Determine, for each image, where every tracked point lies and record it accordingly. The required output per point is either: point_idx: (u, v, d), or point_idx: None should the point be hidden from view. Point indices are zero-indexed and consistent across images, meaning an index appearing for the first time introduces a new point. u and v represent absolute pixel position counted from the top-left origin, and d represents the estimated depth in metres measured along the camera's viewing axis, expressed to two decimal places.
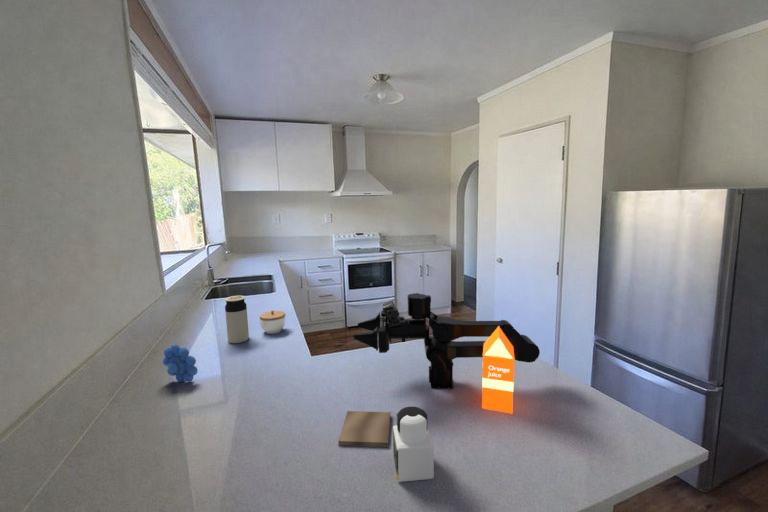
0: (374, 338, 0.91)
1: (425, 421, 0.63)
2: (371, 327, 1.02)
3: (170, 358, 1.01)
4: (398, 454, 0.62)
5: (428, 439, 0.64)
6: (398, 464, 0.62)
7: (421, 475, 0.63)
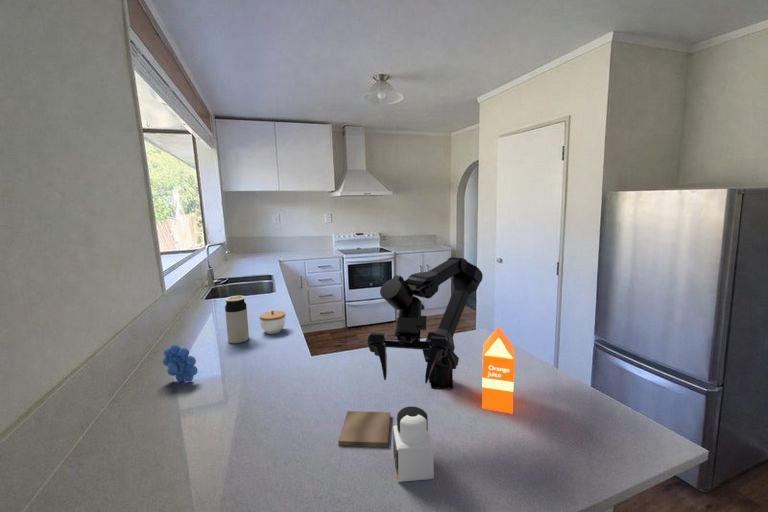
0: None
1: (425, 421, 0.63)
2: (386, 363, 0.77)
3: (170, 358, 1.01)
4: (398, 454, 0.62)
5: (429, 439, 0.64)
6: (398, 464, 0.62)
7: (421, 475, 0.63)
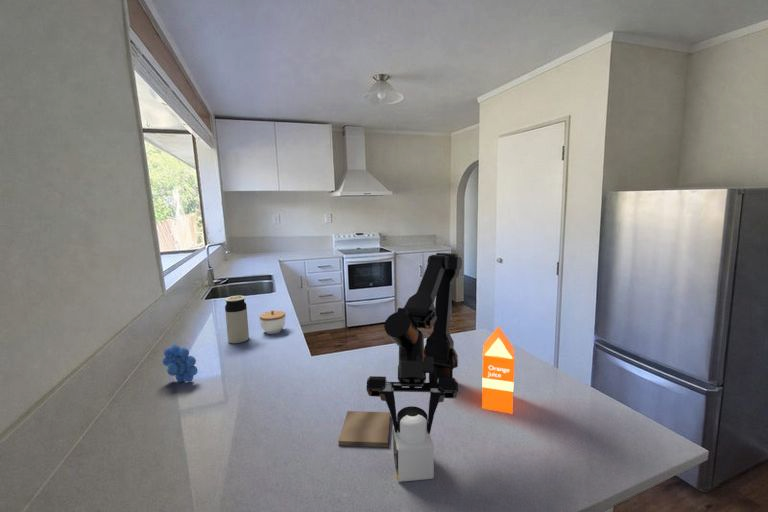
0: None
1: (425, 421, 0.63)
2: None
3: (170, 358, 1.01)
4: (398, 454, 0.62)
5: (429, 439, 0.64)
6: (398, 464, 0.62)
7: (421, 475, 0.63)
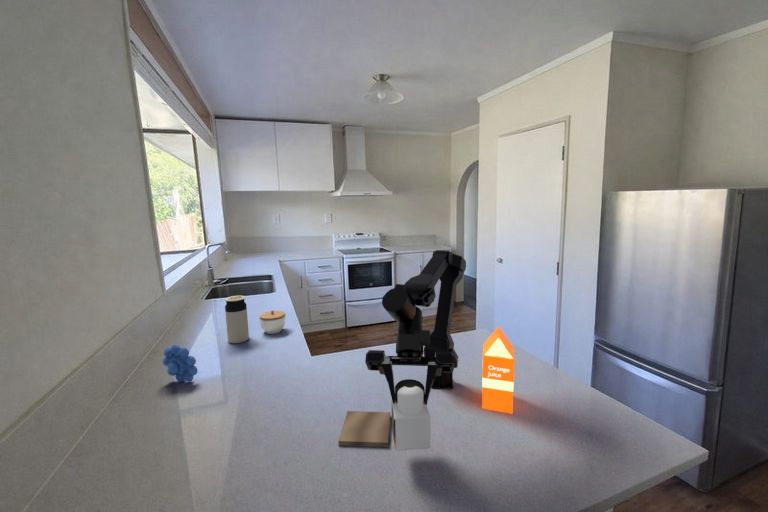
0: None
1: (422, 392, 0.65)
2: None
3: (170, 358, 1.01)
4: (395, 423, 0.64)
5: (425, 410, 0.66)
6: (395, 433, 0.64)
7: (418, 444, 0.65)
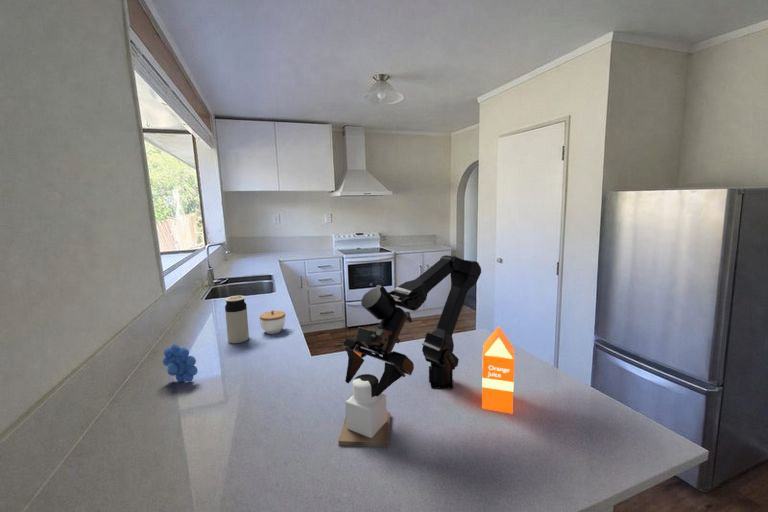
0: (391, 372, 0.75)
1: (369, 387, 0.74)
2: (356, 368, 0.81)
3: (170, 358, 1.01)
4: (346, 405, 0.76)
5: (373, 404, 0.74)
6: (346, 414, 0.76)
7: (362, 431, 0.74)
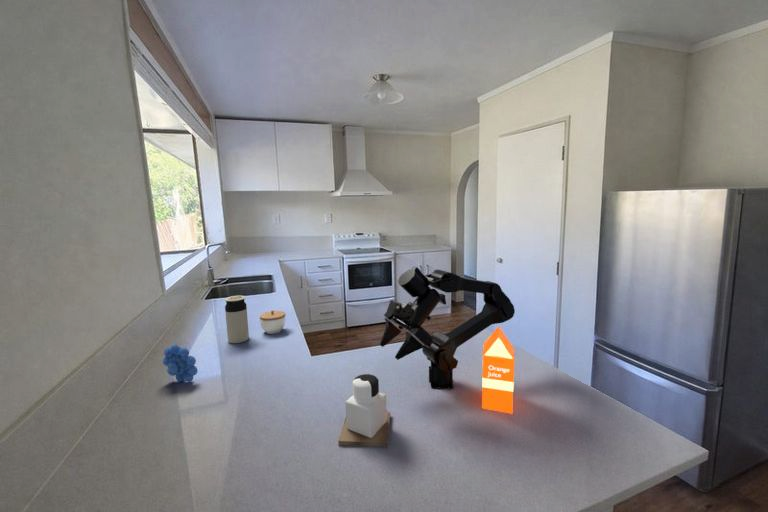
0: (412, 342, 0.85)
1: (369, 387, 0.74)
2: (392, 336, 0.95)
3: (170, 358, 1.01)
4: (346, 405, 0.76)
5: (373, 404, 0.74)
6: (346, 414, 0.76)
7: (362, 431, 0.74)
